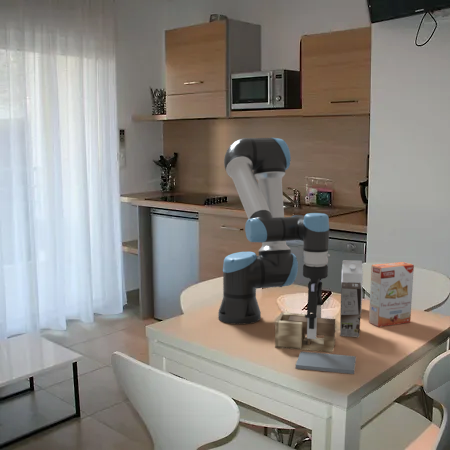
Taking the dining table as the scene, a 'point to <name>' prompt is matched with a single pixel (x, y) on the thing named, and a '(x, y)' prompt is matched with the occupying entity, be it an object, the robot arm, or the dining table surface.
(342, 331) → the coffee box
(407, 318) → the cracker box
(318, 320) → the bar
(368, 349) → the dining table surface
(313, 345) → the holder
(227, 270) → the robot arm
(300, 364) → the mat
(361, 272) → the milk carton
